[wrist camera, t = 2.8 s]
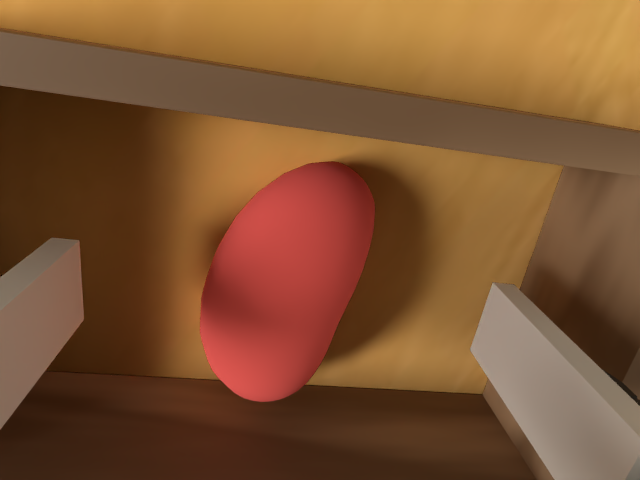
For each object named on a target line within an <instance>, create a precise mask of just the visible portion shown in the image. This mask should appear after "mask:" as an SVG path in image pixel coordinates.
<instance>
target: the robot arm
mask: <svg viewBox="0 0 640 480" xmlns="http://www.w3.org/2000/svg"><path fill="white" fill-rule="evenodd" d="M83 320H84V309H83V292H82V275H81V258H80V241H79V240H72V239H63V238H53V237H52V238H50V239H49V240H48V241H46V242H45V243H44V244H43V245H41V246H40V247H39V248H37V249H36V250H35V251H34V252H32V253H31V254H30V255H28V256H27V257H26V258H24V259H23V260H22V261H21V262H19V263H18V264H17V265H15V266H14V267H13V268H12V269H10V270H9V271H8V272H6V273H5V274H4V275H2V276H1V277H0V429H1V428H2V427H3V425H4V424H5V423H6V422H7V420H8V419H9V418H10V416H11V415H12V414H13V412H14V411H15V410H16V408H17V407H18V406H19V404H20V403H21V402H22V400H23V399H24V398H25V397H26V395H27V394H28V393H29V391H30V390H31V389H32V387H33V386H34V385H35V383H36V382H37V381H38V379H39V378H40V377H41V375H42V374H43V373H44V372H45V370H46V369H47V368H48V366H49V365H50V364H51V362H52V361H53V360H54V358H55V357H56V356H57V354H58V353H59V352H60V350H61V349H62V348H63V347H64V345H65V344H66V343H67V341H68V340H69V339H70V337H71V336H72V335H73V333H74V332H75V331H76V329H77V328H78V327H79V325H80V324H81V323H82V322H83ZM470 351H471V352H472V354H473V355H474V357H475V358H476V360H477V361H478V363H479V365H480V366H481V368H482V369H483V371H484V372H485V374H486V375H487V377H488V378H489V380H490V381H491V383H492V384H493V386H494V388H495V389H496V391H497V392H498V394H499V395H500V397H501V398H502V400H503V401H504V403H505V404H506V406H507V408H508V409H509V411H510V412H511V414H512V415H513V417H514V418H515V420H516V421H517V423H518V424H519V426H520V427H521V429H522V431H523V432H524V434H525V435H526V437H527V438H528V440H529V441H530V443H531V444H532V446H533V447H534V449H535V451H536V452H537V454H538V455H539V457H540V458H541V460H542V461H543V463H544V464H545V466H546V467H547V469H548V471H549V472H550V474H551V475H552V477H553V478H554V480H640V400H639V399H638V398H637V396H636V395H635V394H634V393H633V392H632V391H631V390H630V389H629V388H628V387H627V386H626V385H625V384H624V383H623V382H621V381H620V380H618V379H617V378H615V377H614V376H612V375H611V374H609V373H608V372H606V371H605V370H603V369H601V368H600V367H599V366H598V365H597V364H596V363H595V362H594V361H593V360H592V359H591V358H589V357H588V356H587V355H586V354H585V353H584V352H583V351H582V350H581V349H580V348H579V347H578V346H577V345H576V344H575V343H574V342H573V341H572V340H571V339H570V338H569V337H568V336H567V335H566V334H565V333H564V332H563V331H561V330H560V329H559V328H558V327H557V326H556V325H555V324H554V323H553V322H552V321H551V320H550V319H549V318H548V317H547V316H546V315H545V314H544V313H543V312H542V311H541V310H540V309H539V308H538V307H537V306H536V305H535V304H534V303H532V302H531V301H530V300H529V299H528V298H527V297H526V296H525V295H524V294H523V293H522V292H521V291H520V290H519V289H518V288H517V287H516V286H515V285H514V284H504V283H494V282H493V283H492V286H491V289H490V292H489V295H488V298H487V301H486V304H485V307H484V310H483V313H482V316H481V319H480V322H479V325H478V328H477V331H476V334H475V337H474V340H473V342H472V345H471V348H470Z"/></svg>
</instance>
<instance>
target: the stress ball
mask: <svg viewBox="0 0 640 480" xmlns="http://www.w3.org/2000/svg"><path fill="white" fill-rule="evenodd" d="M374 219H375V203H374V199H373V196H372V194H371V192H370V190H369V188H368V186H367V184H366V183H365V181H364V180H363V179H362V178H361V176H359V175H358V174H357V173H356V172H355V171H354V170H352V169H351V168H350V167H348V166H346V165H344V164H342V163H339V162H334V161H332V162H319V163H310V164H306V165H304V166H301V167H299V168H296V169H294V170H292V171H289V172H287V173H284V174H283V175H281V176H280V177H278V178H277V179H276V180H274V181H273V182H271V183H270V184H269V185H267V186H266V187H264V188H263V189H262V190H260V191H259V192H257V194H256V195H255V196H254V197H253V198H252V199H251V200H250V201H249V202H248V203H247V205H246V206H245V207H244V208H243V209H242V210H241V211H240V212H239V213H238V214H237V216H236V217H235V219H234V220H233V222H232V224H231V225H230V227H229V229H228V230H227V232H226V234H225V235H224V237H223V239H222V241H221V242H220V244H219V246H218V248H217V250H216V253H215V255H214V258H213V260H212V263H211V266H210V269H209V272H208V275H207V278H206V281H205V285H204V289H203V293H202V298H201V317H200V335H201V339H202V343H203V346H204V349H205V353H206V356H207V359H208V362H209V364H210V367H211V369H212V370H213V372H214V373H215V374H216V376H217V377H218V378H219V379H220V380H221V381H222V382H223V383H224V384H225V385H226V386H227V387H228V388H229V389H230V390H232V391H233V392H234V393H235V394H237V395H239V396H241V397H242V398H245V399H248V400H251V401H259V402H269V401H275V400H280V399H283V398H285V397H288V396H290V395H292V394H293V393H295V392H297V391H298V390H299V389H301V388H302V387H303V386H304V385H305V384H306V383H307V382H308V381H309V379H310V378H311V377H312V376H313V374H314V373H315V372H316V370H317V369H318V367H319V365H320V364H321V362H322V360H323V358H324V356H325V355H326V353H327V350H328V348H329V345H330V343H331V341H332V338H333V336H334V333H335V331H336V328H337V326H338V323H339V321H340V319H341V317H342V315H343V313H344V311H345V309H346V307H347V305H348V303H349V301H350V299H351V297H352V295H353V293H354V291H355V288H356V286H357V283H358V281H359V278H360V276H361V273H362V271H363V268H364V265H365V262H366V259H367V255H368V252H369V248H370V244H371V239H372V235H373V231H374Z"/></svg>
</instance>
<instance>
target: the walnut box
mask: <svg viewBox="0 0 640 480" xmlns="http://www.w3.org/2000/svg"><path fill="white" fill-rule="evenodd" d="M0 86H7V87H15V88H22V89H29V90H36V91H43V92H50V93H57V94H64V95H71V96H78V97H85V98H92V99H99V100H106V101H113V102H120V103H127V104H134V105H141V106H148V107H155V108H162V109H169V110H176V111H184V112H191V113H198V114H205V115H212V116H219V117H226V118H233V119H240V120H247V121H254V122H261V123H268V124H275V125H282V126H289V127H296V128H303V129H310V130H317V131H324V132H331V133H338V134H345V135H353V136H360V137H367V138H374V139H381V140H388V141H395V142H402V143H409V144H416V145H423V146H430V147H437V148H444V149H451V150H458V151H465V152H472V153H479V154H486V155H493V156H500V157H507V158H514V159H522V160H529V161H536V162H543V163H550V164H557V165H564V167H563V170H562V173H561V176H560V178H559V181H558V184H557V187H556V190H555V192H554V195H553V198H552V201H551V204H550V207H549V209H548V212H547V215H546V218H545V221H544V223H543V226H542V229H541V232H540V235H539V237H538V240H537V243H536V246H535V249H534V252H533V254H532V257H531V260H530V263H529V266H528V268H527V271H526V274H525V277H524V280H523V282H522V285H521V288H520V291H521V292H522V293H523V294H524V295H525V296H526V297H527V298H528V299H529V300H530V301H531V302H532V303H534V304H535V305H536V306H537V307H538V308H539V309H540V310H541V311H542V312H543V313H544V314H545V315H546V316H547V317H548V318H549V319H550V320H551V321H552V322H553V323H554V324H555V325H556V326H557V327H558V328H559V329H560V330H561V331H563V332H564V333H565V334H566V335H567V336H568V337H569V338H570V339H571V340H572V341H573V342H574V343H575V344H576V345H577V346H578V347H579V348H580V349H581V350H582V351H583V352H584V353H585V354H586V355H587V356H588V357H589V358H591V359H592V360H593V361H594V362H595V363H596V364H597V365H598V366H599V367H600V368H601V369H603V370H605V371H606V372H608V373H609V374H611V375H612V376H614V377H615V378H617V379H618V380H620V381H621V382H623V383H624V384H625V385H626V386H627V387H628V388H629V389H630V390H631V391H632V392H633V393H634V394H635V395H636V396H637V398H638V399H639V400H640V131H638V130H632V129H627V128H621V127H615V126H610V125H604V124H598V123H592V122H585V121H579V120H573V119H567V118H560V117H554V116H548V115H542V114H535V113H529V112H523V111H517V110H510V109H504V108H498V107H492V106H485V105H479V104H473V103H467V102H460V101H454V100H448V99H441V98H435V97H429V96H423V95H416V94H410V93H404V92H398V91H391V90H385V89H379V88H373V87H366V86H360V85H354V84H348V83H341V82H335V81H329V80H323V79H316V78H310V77H304V76H298V75H291V74H285V73H279V72H273V71H266V70H260V69H254V68H248V67H241V66H235V65H229V64H223V63H216V62H210V61H204V60H198V59H191V58H185V57H179V56H172V55H166V54H160V53H154V52H147V51H141V50H135V49H129V48H122V47H116V46H110V45H104V44H97V43H91V42H85V41H79V40H72V39H66V38H60V37H54V36H47V35H41V34H35V33H29V32H22V31H16V30H10V29H4V28H0ZM0 480H554V478H553V477H552V475H551V474H550V472H549V471H548V469H547V467H546V466H545V464H544V463H543V461H542V460H541V458H540V457H539V455H538V454H537V452H536V451H535V449H534V447H533V446H532V444H531V443H530V441H529V440H528V438H527V437H526V435H525V434H524V432H523V431H522V429H521V427H520V426H519V424H518V423H517V421H516V420H515V418H514V417H513V415H512V414H511V412H510V411H509V409H508V408H507V406H506V404H505V403H504V401H503V400H502V398H501V397H500V395H499V394H498V392H497V391H496V389H495V388H494V386H493V384H492V383H491V381H490V380H489V378H488V381H487V384H486V387H485V389H484V392H483V395H477V394H458V393H440V392H422V391H403V390H385V389H366V388H348V387H329V386H311V385H304V386H303V387H302V388H301V389H299V390H298V391H297V392H295V393H293V394H292V395H290V396H288V397H285V398H283V399H280V400H275V401H269V402H259V401H251V400H248V399H245V398H242V397H241V396H239V395H237V394H235V393H234V392H233V391H232V390H230V389H229V388H228V387H227V386H226V385H225V384H224V383H223V382H222V381H218V380H200V379H181V378H163V377H145V376H126V375H108V374H89V373H71V372H52V371H45V372H44V373H43V374H42V375H41V377H40V378H39V379H38V381H37V382H36V383H35V385H34V386H33V387H32V389H31V390H30V391H29V393H28V394H27V395H26V397H25V398H24V399H23V400H22V402H21V403H20V404H19V406H18V407H17V408H16V410H15V411H14V412H13V414H12V415H11V416H10V418H9V419H8V420H7V422H6V423H5V424H4V425H3V427H2V428H1V429H0Z"/></svg>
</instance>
